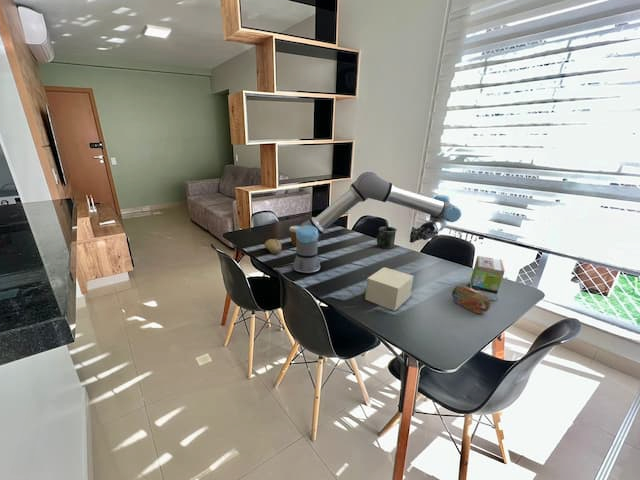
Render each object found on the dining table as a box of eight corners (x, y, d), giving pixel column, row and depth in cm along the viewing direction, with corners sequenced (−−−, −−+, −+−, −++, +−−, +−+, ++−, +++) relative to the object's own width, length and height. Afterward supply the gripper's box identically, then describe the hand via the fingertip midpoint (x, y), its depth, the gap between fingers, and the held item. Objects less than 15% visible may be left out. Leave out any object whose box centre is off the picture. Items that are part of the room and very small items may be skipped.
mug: (397, 247, 190) (400, 229, 186) (382, 251, 184) (384, 233, 179) (384, 242, 199) (386, 225, 195) (369, 246, 192) (371, 229, 188)
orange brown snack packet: (450, 299, 128) (454, 283, 125) (454, 298, 129) (459, 281, 126) (483, 317, 115) (489, 299, 112) (488, 315, 117) (494, 297, 113)
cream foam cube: (381, 287, 140) (384, 267, 136) (409, 297, 131) (413, 275, 127) (365, 299, 130) (367, 278, 126) (394, 311, 121) (398, 288, 117)
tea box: (496, 301, 126) (505, 271, 121) (469, 295, 131) (476, 266, 126) (494, 287, 138) (502, 258, 133) (469, 282, 143) (476, 254, 138)
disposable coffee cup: (302, 246, 194) (302, 229, 189) (288, 246, 196) (288, 229, 191) (303, 242, 202) (304, 225, 198) (290, 241, 204) (290, 225, 200)
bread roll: (274, 246, 196) (274, 235, 193) (285, 253, 183) (285, 241, 180) (261, 248, 191) (261, 237, 188) (271, 256, 179) (271, 244, 176)
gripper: (441, 238, 146) (424, 250, 131) (415, 233, 155) (396, 244, 139) (444, 224, 144) (427, 235, 128) (418, 219, 152) (399, 229, 137)
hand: (411, 239), depth 134 cm, fingers closed
